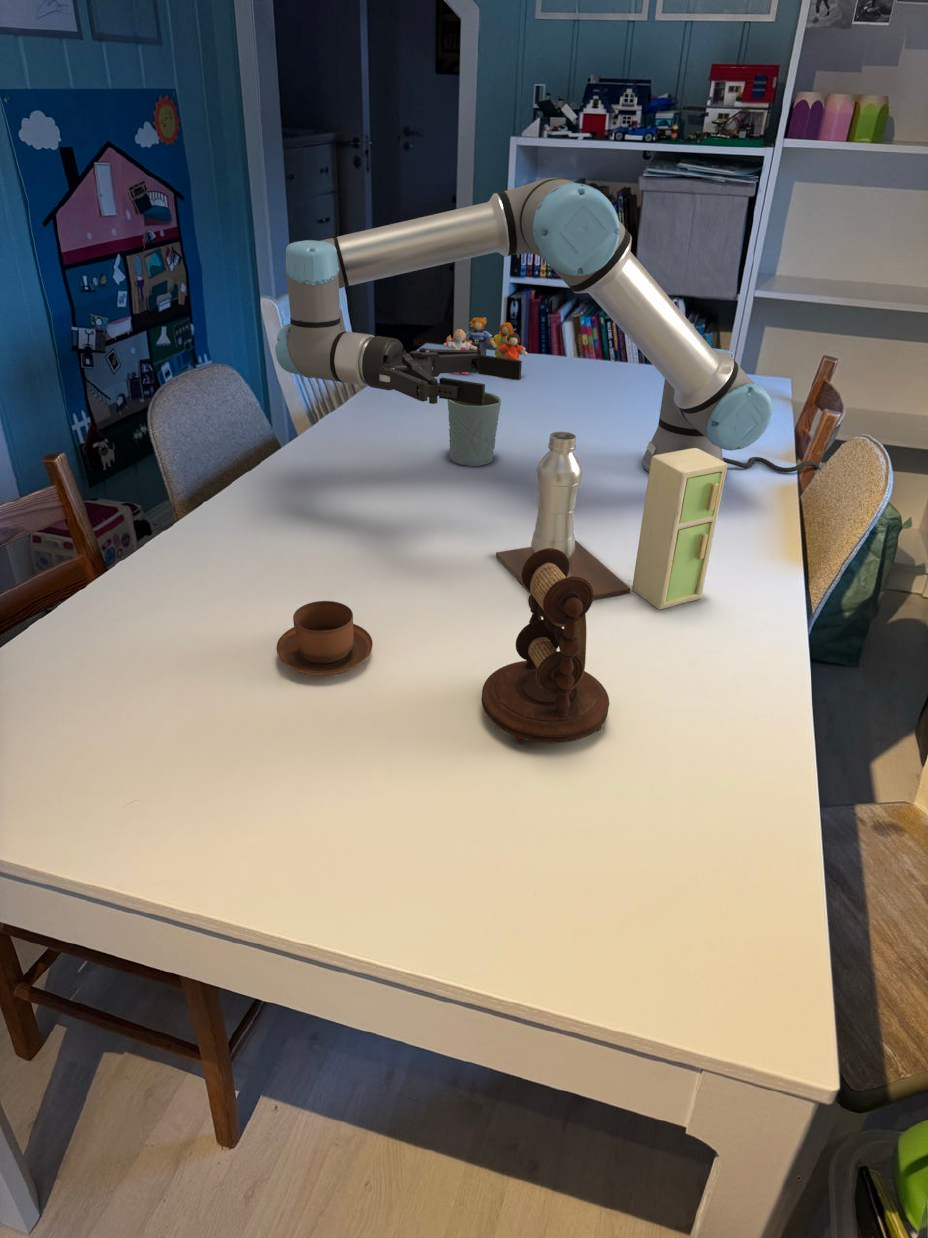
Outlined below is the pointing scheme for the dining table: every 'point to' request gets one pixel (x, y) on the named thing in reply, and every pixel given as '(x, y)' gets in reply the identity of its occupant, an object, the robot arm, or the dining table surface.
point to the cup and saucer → (324, 640)
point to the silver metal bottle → (557, 495)
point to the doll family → (501, 342)
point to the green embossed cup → (473, 430)
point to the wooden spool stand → (549, 661)
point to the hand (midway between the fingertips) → (503, 381)
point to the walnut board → (571, 570)
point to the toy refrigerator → (678, 526)
